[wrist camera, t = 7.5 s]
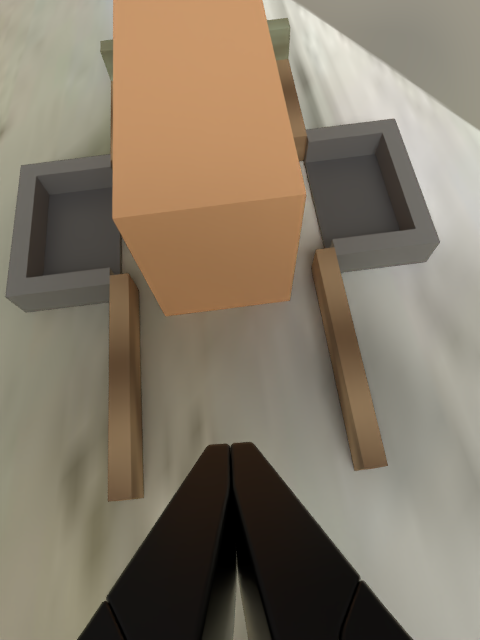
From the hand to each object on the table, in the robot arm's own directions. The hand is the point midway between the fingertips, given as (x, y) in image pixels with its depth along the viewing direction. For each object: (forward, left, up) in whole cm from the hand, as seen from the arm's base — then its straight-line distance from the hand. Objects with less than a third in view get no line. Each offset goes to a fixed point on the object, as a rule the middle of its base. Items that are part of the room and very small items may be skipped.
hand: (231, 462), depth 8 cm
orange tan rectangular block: (+16, 0, -13) cm, 21 cm away
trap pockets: (+15, 0, -13) cm, 19 cm away
